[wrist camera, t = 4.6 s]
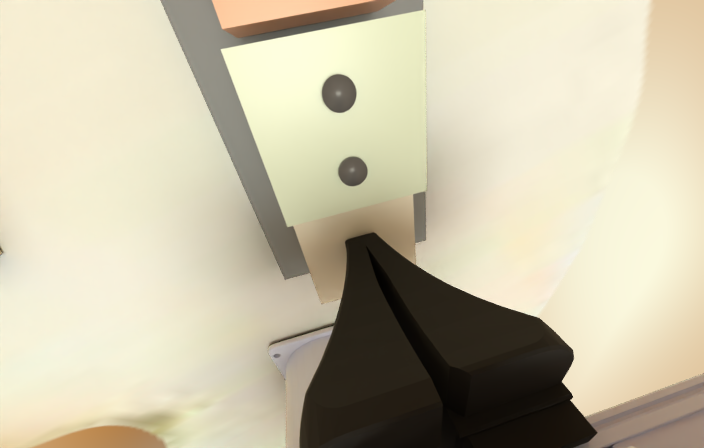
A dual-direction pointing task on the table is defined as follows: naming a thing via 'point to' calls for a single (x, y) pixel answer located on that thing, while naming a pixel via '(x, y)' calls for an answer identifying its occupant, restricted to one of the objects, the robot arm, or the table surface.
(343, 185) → the tile two
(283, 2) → the tile three
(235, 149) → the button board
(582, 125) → the table surface
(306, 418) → the robot arm
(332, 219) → the tile one
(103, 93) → the table surface
